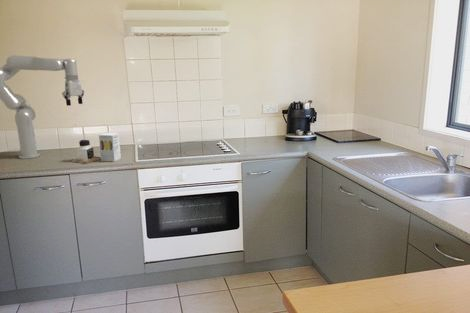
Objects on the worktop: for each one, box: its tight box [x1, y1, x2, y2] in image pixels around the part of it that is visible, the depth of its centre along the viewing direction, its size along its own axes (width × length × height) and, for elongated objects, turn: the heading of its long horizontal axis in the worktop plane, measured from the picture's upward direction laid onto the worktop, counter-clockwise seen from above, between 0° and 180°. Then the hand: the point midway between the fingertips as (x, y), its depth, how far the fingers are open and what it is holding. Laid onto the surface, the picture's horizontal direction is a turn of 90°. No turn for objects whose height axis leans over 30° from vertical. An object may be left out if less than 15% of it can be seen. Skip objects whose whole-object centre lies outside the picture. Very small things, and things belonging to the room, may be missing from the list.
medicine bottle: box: [76, 139, 95, 160], centre depth 259 cm, size 7×7×12 cm
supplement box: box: [98, 132, 122, 163], centre depth 259 cm, size 10×9×17 cm
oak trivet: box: [71, 155, 101, 164], centre depth 260 cm, size 12×12×2 cm
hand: (74, 104), depth 271 cm, fingers open, 9 cm apart
